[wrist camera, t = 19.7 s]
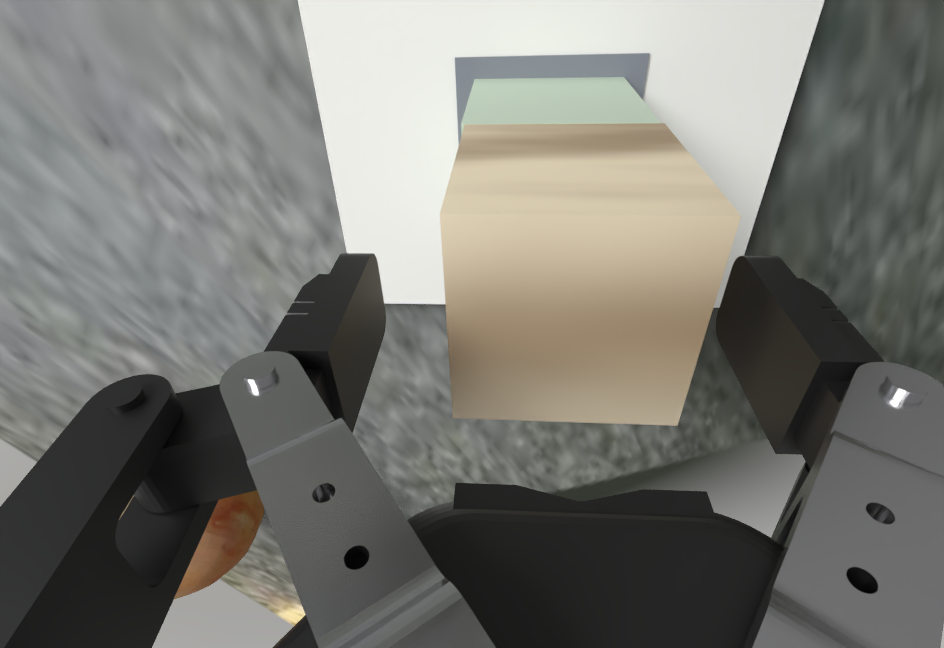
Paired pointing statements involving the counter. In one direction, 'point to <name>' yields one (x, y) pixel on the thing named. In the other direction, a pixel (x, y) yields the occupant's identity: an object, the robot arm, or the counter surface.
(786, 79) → the baseplate
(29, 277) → the counter surface
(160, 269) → the counter surface
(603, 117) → the sage block
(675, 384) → the beech block
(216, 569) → the onion
